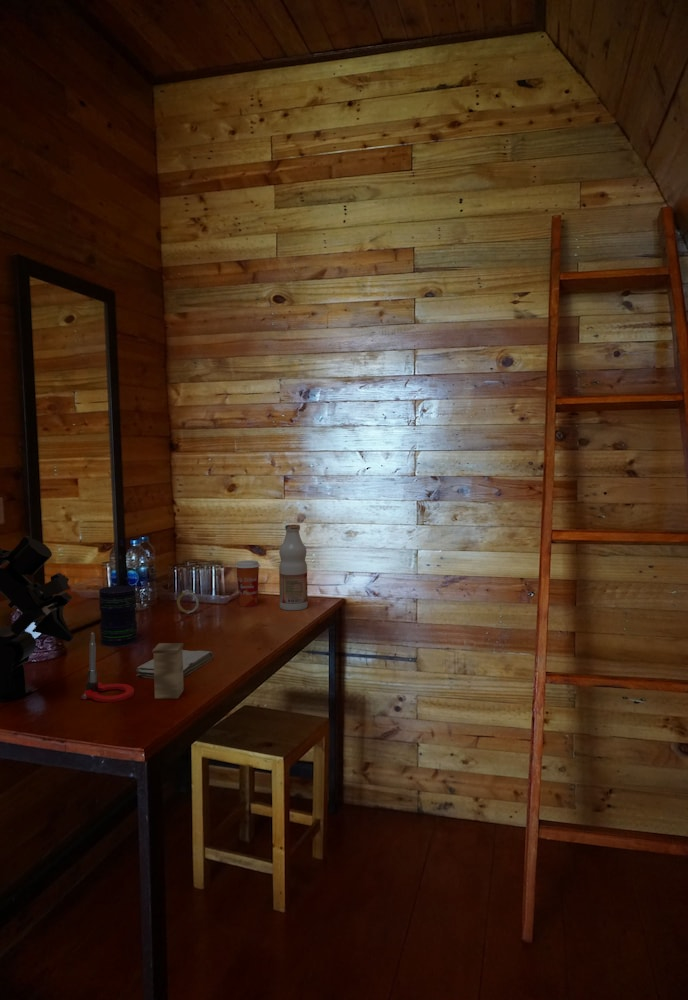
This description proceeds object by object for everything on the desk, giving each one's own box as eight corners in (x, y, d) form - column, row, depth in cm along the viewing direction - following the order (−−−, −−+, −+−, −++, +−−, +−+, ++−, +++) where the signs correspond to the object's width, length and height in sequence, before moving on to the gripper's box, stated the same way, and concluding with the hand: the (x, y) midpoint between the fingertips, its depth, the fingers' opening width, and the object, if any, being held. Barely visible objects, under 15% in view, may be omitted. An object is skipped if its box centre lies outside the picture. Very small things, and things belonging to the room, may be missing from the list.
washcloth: (133, 679, 161) (133, 666, 161) (172, 656, 178) (172, 645, 178) (178, 683, 158) (178, 670, 157) (213, 660, 175) (213, 648, 175)
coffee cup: (234, 607, 230) (233, 563, 229) (238, 602, 239) (238, 559, 238) (258, 607, 230) (258, 563, 229) (262, 602, 238) (261, 559, 237)
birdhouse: (153, 698, 147) (152, 650, 146) (164, 684, 156) (163, 638, 155) (178, 698, 147) (177, 650, 146) (188, 684, 156) (187, 638, 155)
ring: (176, 614, 222) (175, 590, 221) (179, 612, 225) (179, 588, 224) (196, 614, 221) (196, 590, 220) (200, 612, 224) (199, 588, 224)
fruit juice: (274, 607, 230) (272, 525, 228) (295, 603, 236) (294, 523, 234) (291, 612, 223) (290, 527, 221) (313, 607, 230) (312, 525, 228)
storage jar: (94, 646, 186) (92, 581, 185) (108, 636, 196) (106, 574, 194) (130, 646, 186) (128, 581, 184) (142, 636, 195) (140, 574, 194)
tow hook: (140, 690, 153) (98, 687, 154) (141, 629, 152) (98, 626, 153) (123, 705, 144) (78, 702, 145) (123, 641, 143) (78, 638, 144)
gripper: (23, 571, 138) (79, 625, 139) (61, 557, 157) (111, 604, 157) (-14, 610, 139) (42, 663, 139) (29, 591, 157) (78, 637, 158)
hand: (71, 639), depth 148 cm, fingers closed
